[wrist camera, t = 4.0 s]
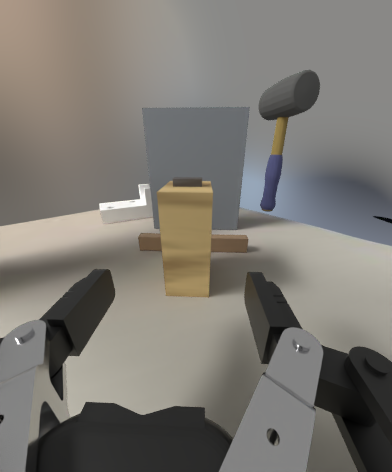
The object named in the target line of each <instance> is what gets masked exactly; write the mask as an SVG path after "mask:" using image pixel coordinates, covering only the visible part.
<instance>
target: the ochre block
mask: <svg viewBox="0 0 392 472" xmlns="http://www.w3.org/2000/svg"><path fill="white" fill-rule="evenodd" d="M157 200H158V212H159V223H160V234H161V245H162V257H163V268H164V279H165V290H166V296H189V297H209V280H210V255H211V230H212V205H213V190H212V186H211V181H202V177H174V178H173V181H170V182H168V183H167V184H166V185H165V186H164V187H162V188H161V189H160V190H159V191H158V192H157Z"/></svg>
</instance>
